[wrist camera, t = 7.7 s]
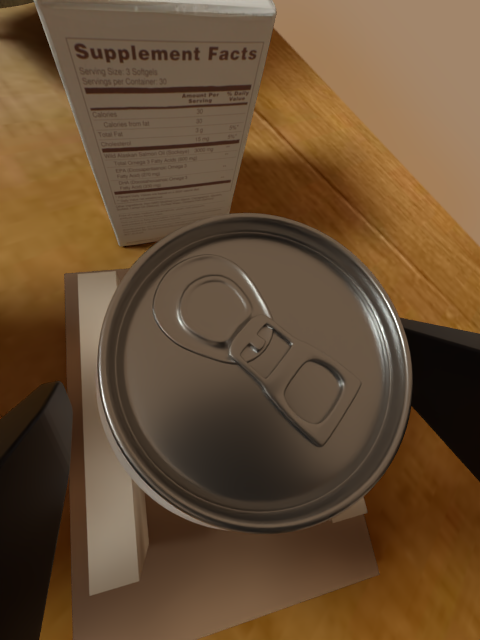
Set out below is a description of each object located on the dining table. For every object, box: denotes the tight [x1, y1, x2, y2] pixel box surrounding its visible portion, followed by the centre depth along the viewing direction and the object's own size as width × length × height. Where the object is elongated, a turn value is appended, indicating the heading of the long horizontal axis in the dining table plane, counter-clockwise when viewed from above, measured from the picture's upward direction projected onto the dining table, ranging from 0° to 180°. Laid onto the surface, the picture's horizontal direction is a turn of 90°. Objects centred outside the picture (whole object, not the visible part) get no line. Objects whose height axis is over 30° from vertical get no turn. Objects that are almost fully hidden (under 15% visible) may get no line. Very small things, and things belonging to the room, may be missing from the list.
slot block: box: [64, 269, 379, 640], centre depth 15 cm, size 18×14×5 cm
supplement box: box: [34, 0, 276, 246], centre depth 16 cm, size 7×7×13 cm
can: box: [96, 213, 413, 535], centre depth 11 cm, size 6×6×12 cm
